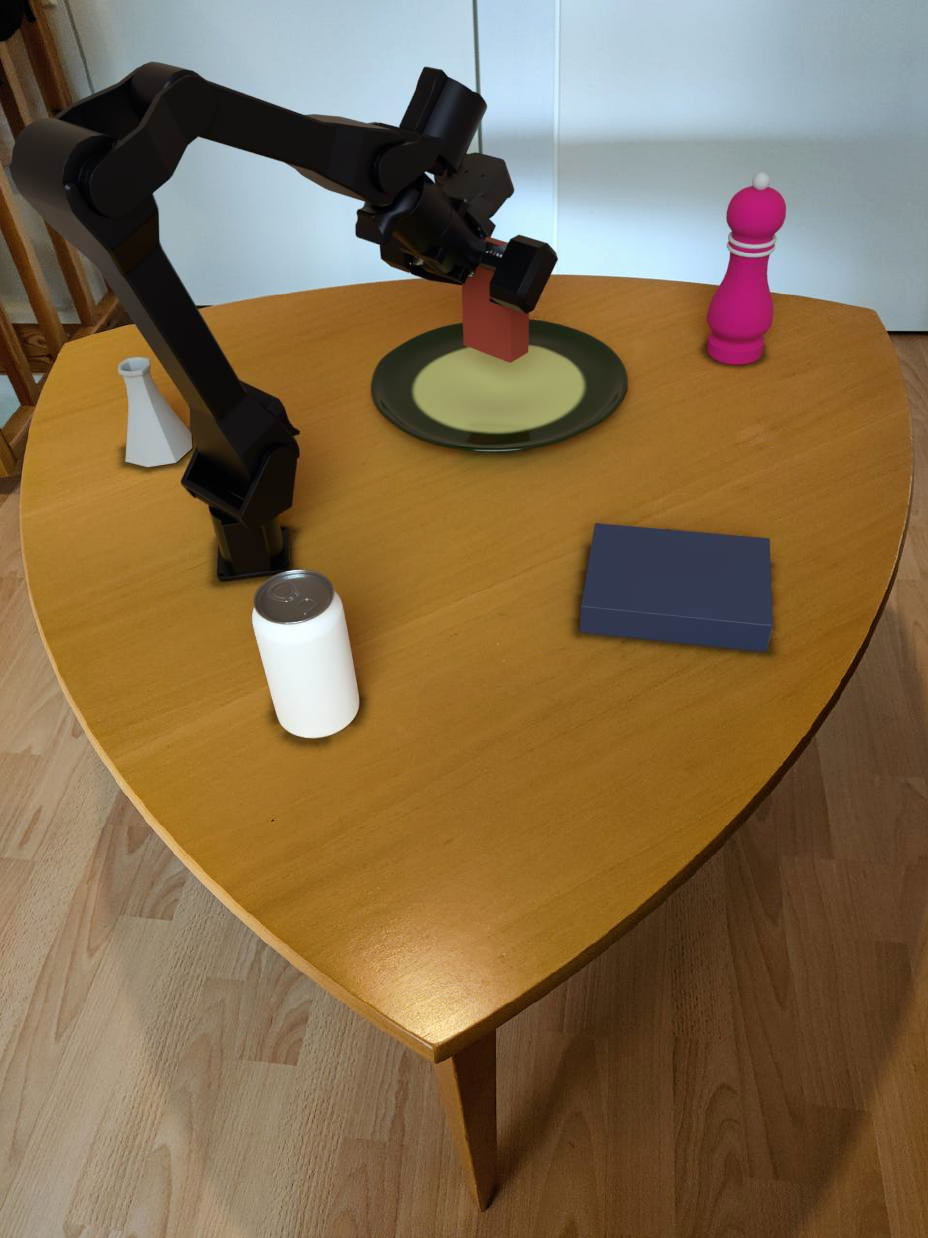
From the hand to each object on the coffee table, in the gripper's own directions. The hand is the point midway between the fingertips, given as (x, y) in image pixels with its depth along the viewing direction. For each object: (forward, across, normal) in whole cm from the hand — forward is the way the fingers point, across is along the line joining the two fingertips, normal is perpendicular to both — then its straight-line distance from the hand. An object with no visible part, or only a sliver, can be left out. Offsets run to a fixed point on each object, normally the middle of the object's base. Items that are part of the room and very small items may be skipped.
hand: (504, 291), depth 103 cm
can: (-24, -18, +40) cm, 50 cm away
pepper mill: (+24, -16, -8) cm, 30 cm away
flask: (-14, +22, +30) cm, 40 cm away
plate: (+8, 0, +9) cm, 12 cm away
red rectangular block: (+3, 0, +5) cm, 6 cm away
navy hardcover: (-4, -33, +20) cm, 39 cm away
